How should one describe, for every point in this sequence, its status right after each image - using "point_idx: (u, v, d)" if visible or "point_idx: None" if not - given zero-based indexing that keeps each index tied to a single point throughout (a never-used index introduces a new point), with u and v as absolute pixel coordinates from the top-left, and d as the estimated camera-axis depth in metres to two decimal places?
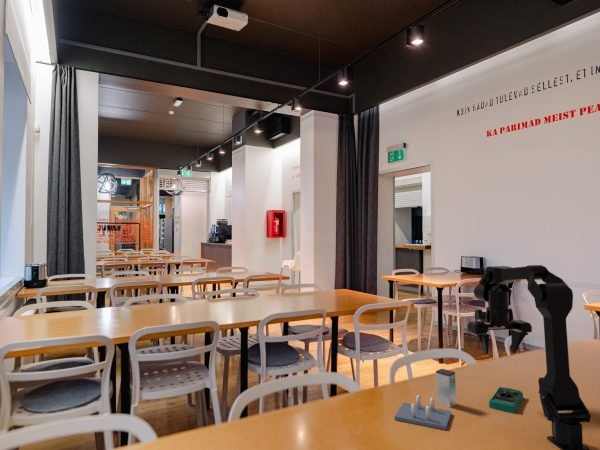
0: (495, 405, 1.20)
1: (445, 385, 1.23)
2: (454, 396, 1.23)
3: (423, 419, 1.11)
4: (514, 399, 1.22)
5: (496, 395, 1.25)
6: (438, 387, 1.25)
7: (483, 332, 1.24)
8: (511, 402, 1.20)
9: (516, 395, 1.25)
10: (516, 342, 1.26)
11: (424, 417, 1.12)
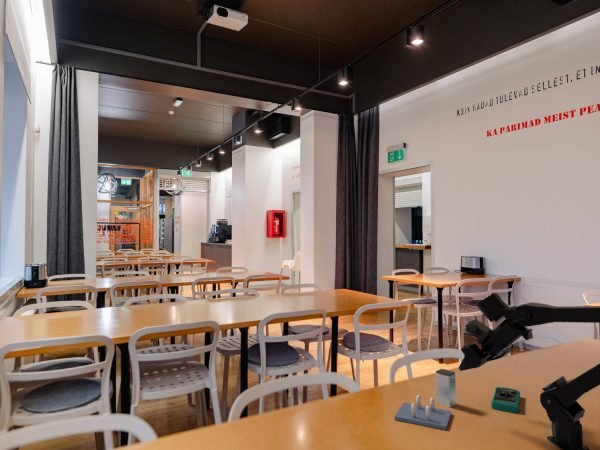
0: (498, 406, 1.19)
1: (445, 385, 1.23)
2: (454, 396, 1.23)
3: (423, 419, 1.11)
4: (515, 399, 1.22)
5: (496, 396, 1.25)
6: (438, 387, 1.25)
7: (480, 365, 1.09)
8: (513, 402, 1.20)
9: (515, 394, 1.25)
10: (487, 360, 1.19)
11: (424, 417, 1.12)
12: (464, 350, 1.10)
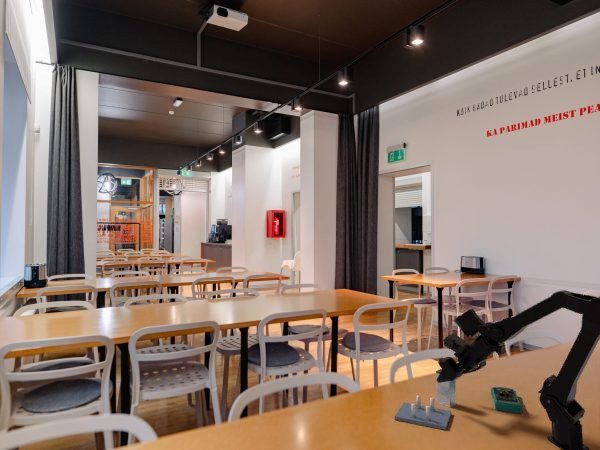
0: (502, 407, 1.18)
1: (445, 385, 1.23)
2: (454, 396, 1.23)
3: (423, 419, 1.11)
4: (515, 398, 1.22)
5: (497, 396, 1.24)
6: (438, 387, 1.25)
7: None
8: (515, 402, 1.20)
9: (513, 394, 1.26)
10: (464, 372, 1.25)
11: (424, 417, 1.12)
12: (441, 364, 1.16)
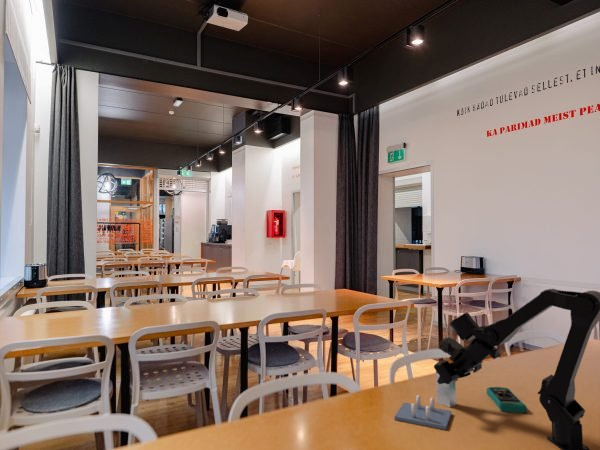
0: (507, 408, 1.18)
1: (445, 384, 1.23)
2: (454, 396, 1.23)
3: (423, 419, 1.11)
4: (515, 398, 1.22)
5: (498, 397, 1.23)
6: (438, 387, 1.25)
7: (451, 382, 1.15)
8: (517, 402, 1.20)
9: (511, 393, 1.26)
10: None
11: (424, 417, 1.12)
12: (436, 367, 1.17)
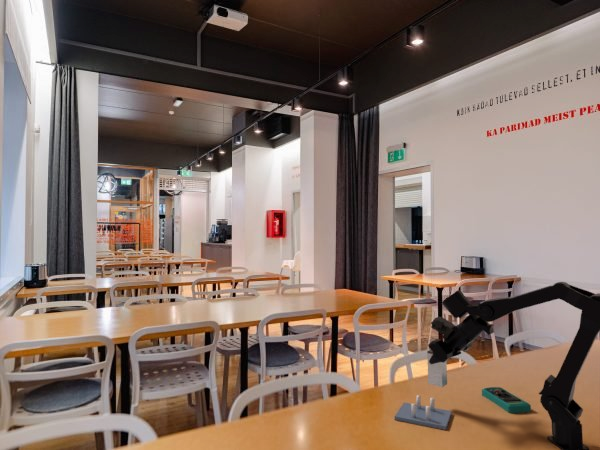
0: (515, 409, 1.17)
1: (437, 364, 1.21)
2: (445, 376, 1.22)
3: (423, 419, 1.11)
4: (515, 397, 1.23)
5: (500, 398, 1.23)
6: (430, 367, 1.22)
7: (446, 360, 1.13)
8: (519, 401, 1.21)
9: (507, 392, 1.27)
10: None
11: (424, 417, 1.12)
12: (431, 346, 1.14)
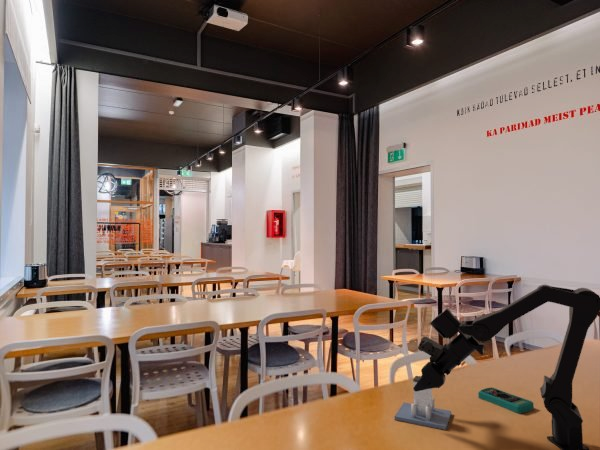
0: (523, 409, 1.17)
1: (425, 393, 1.13)
2: (431, 404, 1.15)
3: (423, 419, 1.11)
4: (514, 396, 1.24)
5: (503, 399, 1.22)
6: (416, 397, 1.14)
7: None
8: (521, 400, 1.22)
9: (502, 392, 1.27)
10: None
11: (424, 417, 1.12)
12: (426, 371, 1.06)
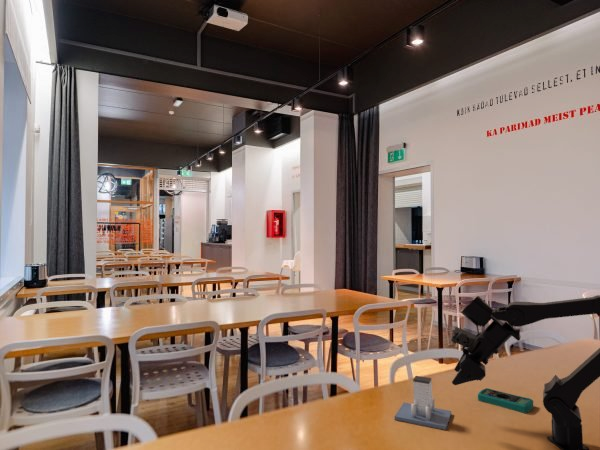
0: (528, 408, 1.18)
1: (425, 393, 1.13)
2: (431, 404, 1.15)
3: (423, 419, 1.11)
4: (513, 395, 1.25)
5: (507, 400, 1.21)
6: (416, 397, 1.14)
7: None
8: (520, 399, 1.23)
9: (499, 392, 1.27)
10: None
11: (424, 417, 1.12)
12: (465, 365, 1.03)
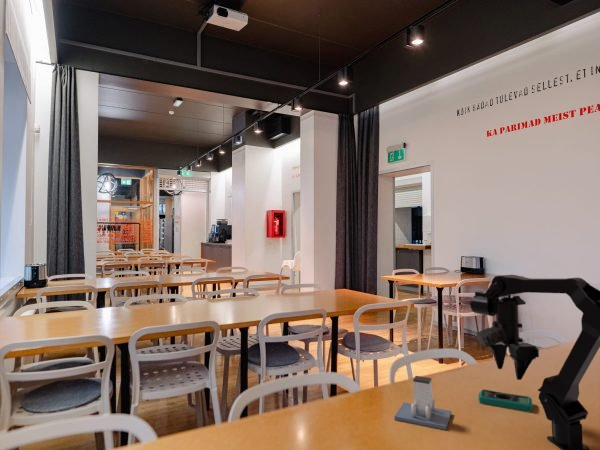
0: (531, 406, 1.19)
1: (425, 393, 1.13)
2: (431, 404, 1.15)
3: (423, 419, 1.11)
4: (511, 395, 1.25)
5: (509, 400, 1.21)
6: (416, 397, 1.14)
7: None
8: (519, 398, 1.24)
9: (497, 392, 1.27)
10: (503, 355, 1.18)
11: (424, 417, 1.12)
12: (521, 354, 1.04)
